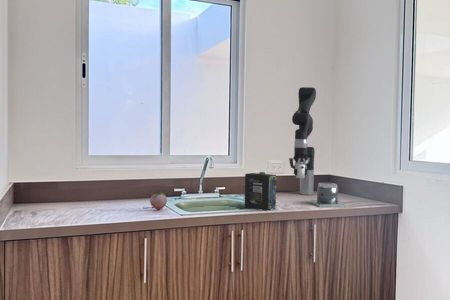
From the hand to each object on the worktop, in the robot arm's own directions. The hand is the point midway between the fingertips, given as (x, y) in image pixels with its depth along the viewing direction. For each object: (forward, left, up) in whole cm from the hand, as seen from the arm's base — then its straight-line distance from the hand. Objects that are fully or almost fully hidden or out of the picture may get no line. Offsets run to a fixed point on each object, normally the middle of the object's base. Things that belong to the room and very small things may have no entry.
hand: (300, 175), depth 226 cm
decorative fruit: (+13, -83, -17) cm, 86 cm away
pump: (0, 0, -1) cm, 1 cm away
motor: (+3, +16, -17) cm, 24 cm away
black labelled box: (+11, -27, -17) cm, 34 cm away
